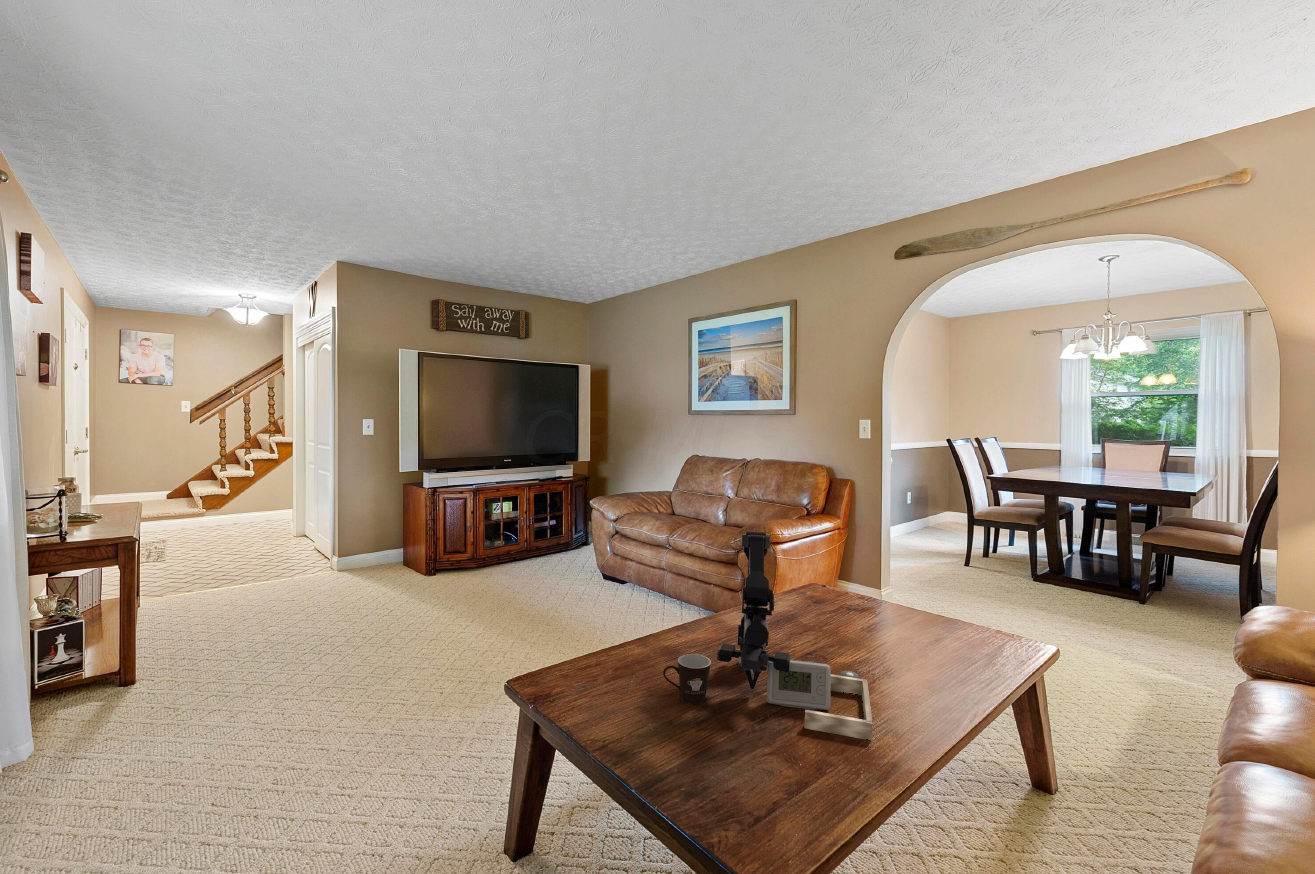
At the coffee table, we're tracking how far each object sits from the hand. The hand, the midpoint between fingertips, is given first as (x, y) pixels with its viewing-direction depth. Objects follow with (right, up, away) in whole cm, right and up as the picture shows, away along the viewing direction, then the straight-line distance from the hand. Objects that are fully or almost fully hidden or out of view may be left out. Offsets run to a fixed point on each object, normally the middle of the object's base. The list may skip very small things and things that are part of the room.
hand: (752, 688), depth 156 cm
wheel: (+29, -2, +10) cm, 31 cm away
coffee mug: (-17, -2, -2) cm, 18 cm away
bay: (+20, -3, -6) cm, 21 cm away
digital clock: (+11, -3, -3) cm, 12 cm away
